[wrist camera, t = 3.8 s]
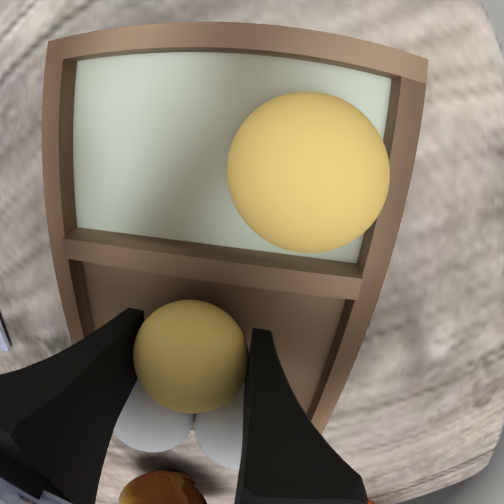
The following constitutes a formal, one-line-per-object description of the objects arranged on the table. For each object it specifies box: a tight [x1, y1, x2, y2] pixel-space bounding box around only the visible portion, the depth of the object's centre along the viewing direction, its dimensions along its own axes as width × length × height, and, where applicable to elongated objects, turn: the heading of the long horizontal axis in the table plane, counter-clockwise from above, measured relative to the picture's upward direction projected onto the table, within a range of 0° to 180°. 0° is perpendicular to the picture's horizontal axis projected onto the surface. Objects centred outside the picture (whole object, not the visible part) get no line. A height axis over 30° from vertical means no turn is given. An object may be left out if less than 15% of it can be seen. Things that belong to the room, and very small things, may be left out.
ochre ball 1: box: [133, 300, 249, 414], centre depth 11 cm, size 4×4×4 cm
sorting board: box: [42, 22, 428, 435], centre depth 11 cm, size 12×17×2 cm
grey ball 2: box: [194, 383, 245, 470], centre depth 12 cm, size 4×4×4 cm
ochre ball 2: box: [227, 91, 390, 253], centre depth 8 cm, size 4×4×4 cm
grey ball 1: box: [113, 379, 194, 452], centre depth 12 cm, size 4×4×4 cm
